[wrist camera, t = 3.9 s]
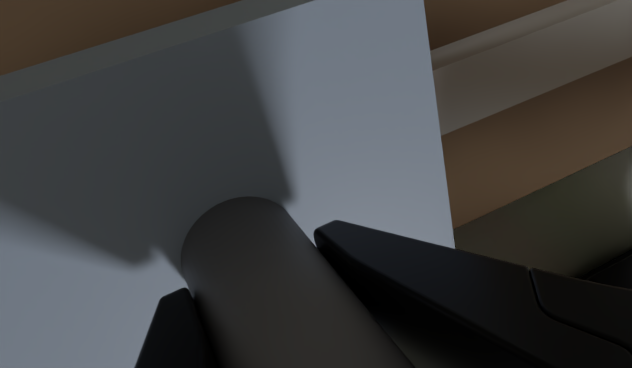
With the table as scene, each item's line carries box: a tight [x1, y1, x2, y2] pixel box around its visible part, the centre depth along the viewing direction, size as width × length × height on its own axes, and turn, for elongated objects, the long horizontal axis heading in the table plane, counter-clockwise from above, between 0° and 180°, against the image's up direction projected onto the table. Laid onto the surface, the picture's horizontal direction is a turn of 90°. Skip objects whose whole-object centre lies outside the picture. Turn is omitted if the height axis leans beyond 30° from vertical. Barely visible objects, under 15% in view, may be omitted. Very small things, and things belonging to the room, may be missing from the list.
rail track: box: [0, 0, 632, 229], centre depth 13 cm, size 9×26×2 cm, turn 103°
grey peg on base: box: [0, 0, 455, 368], centre depth 9 cm, size 7×8×8 cm
